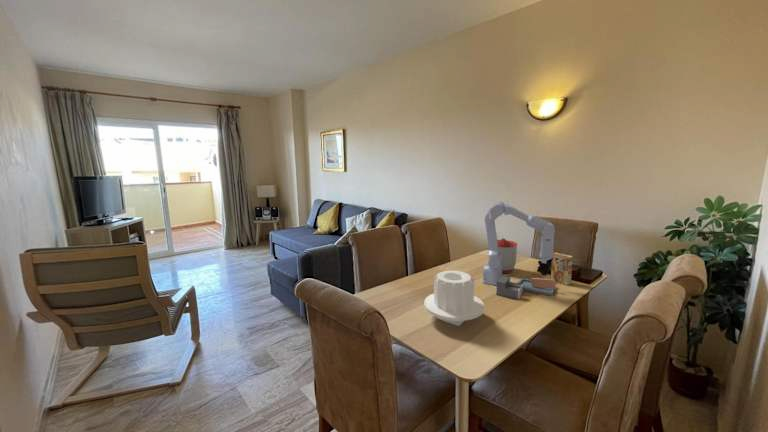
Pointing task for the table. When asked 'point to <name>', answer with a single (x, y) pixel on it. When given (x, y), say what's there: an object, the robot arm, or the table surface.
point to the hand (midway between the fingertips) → (545, 272)
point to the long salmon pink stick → (543, 283)
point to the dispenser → (508, 288)
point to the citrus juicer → (507, 254)
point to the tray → (535, 288)
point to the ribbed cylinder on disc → (454, 298)
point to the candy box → (561, 268)
